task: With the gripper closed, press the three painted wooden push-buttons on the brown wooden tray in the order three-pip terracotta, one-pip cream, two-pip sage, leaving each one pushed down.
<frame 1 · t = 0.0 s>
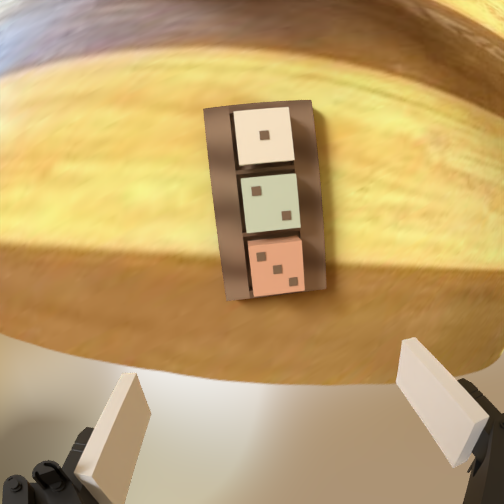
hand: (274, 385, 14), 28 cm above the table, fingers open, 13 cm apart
button one cream: (263, 136, 34), point 4 cm above the table, slide at 0.0 cm
button two sage: (270, 202, 35), point 4 cm above the table, slide at 0.0 cm
button three terracotta: (276, 265, 37), point 4 cm above the table, slide at 0.0 cm
brown wooden tray: (266, 199, 39), on the table
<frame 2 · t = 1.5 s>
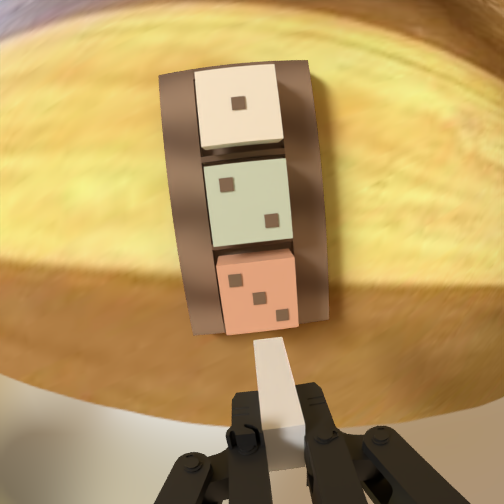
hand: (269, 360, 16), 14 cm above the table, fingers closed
button one cream: (238, 107, 23), point 4 cm above the table, slide at 0.0 cm
button two sage: (248, 201, 24), point 4 cm above the table, slide at 0.0 cm
button three terracotta: (258, 291, 26), point 4 cm above the table, slide at 0.0 cm
brown wooden tray: (247, 197, 28), on the table
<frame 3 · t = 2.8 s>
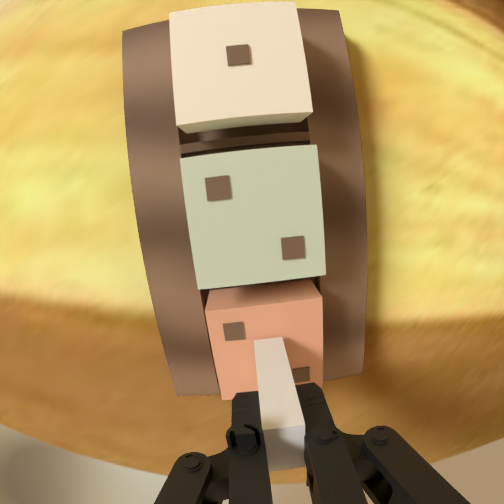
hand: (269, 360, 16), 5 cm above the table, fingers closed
button one cream: (238, 65, 13), point 4 cm above the table, slide at 0.0 cm
button two sage: (254, 213, 15), point 4 cm above the table, slide at 0.0 cm
button three terracotta: (266, 341, 18), point 3 cm above the table, slide at 0.9 cm, touching gripper
brown wooden tray: (250, 205, 19), on the table
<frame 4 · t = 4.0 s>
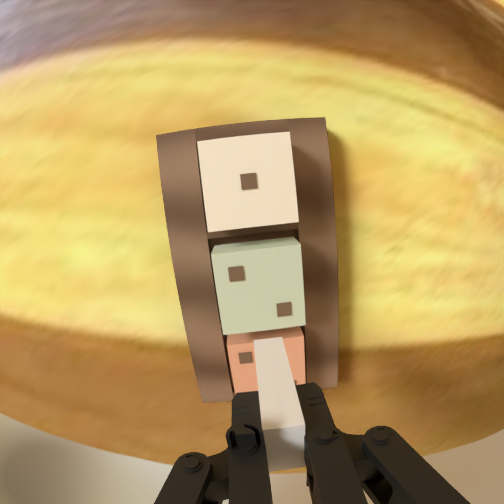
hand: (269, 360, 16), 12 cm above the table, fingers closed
button one cream: (247, 181, 21), point 4 cm above the table, slide at 0.0 cm
button two sage: (259, 285, 23), point 4 cm above the table, slide at 0.0 cm
button three terracotta: (267, 362, 26), point 3 cm above the table, slide at 1.1 cm
brown wooden tray: (256, 269, 27), on the table
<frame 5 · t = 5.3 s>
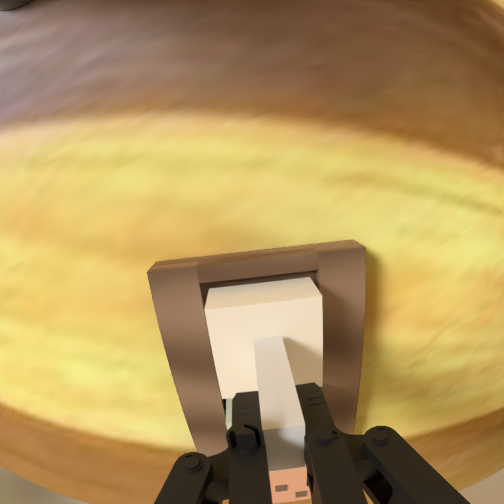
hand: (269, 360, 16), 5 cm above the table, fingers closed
button one cream: (266, 339, 18), point 3 cm above the table, slide at 0.6 cm, touching gripper
button two sage: (275, 432, 19), point 4 cm above the table, slide at 0.0 cm
button three terracotta: (279, 475, 22), point 3 cm above the table, slide at 1.1 cm
brown wooden tray: (270, 397, 23), on the table
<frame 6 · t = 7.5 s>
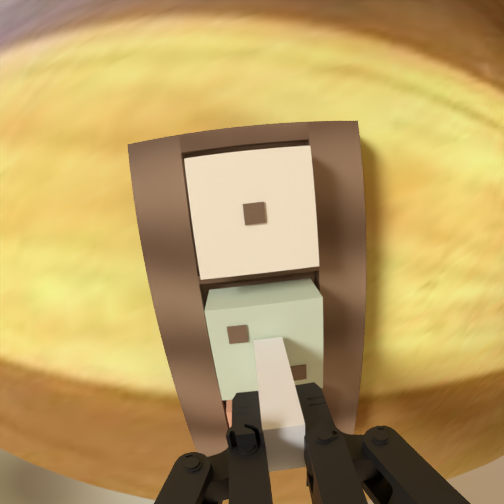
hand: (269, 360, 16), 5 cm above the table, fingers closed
button one cream: (252, 209, 16), point 3 cm above the table, slide at 1.1 cm
button two sage: (266, 341, 18), point 3 cm above the table, slide at 0.6 cm, touching gripper
button three terracotta: (274, 423, 20), point 3 cm above the table, slide at 1.1 cm
brown wooden tray: (262, 315, 21), on the table
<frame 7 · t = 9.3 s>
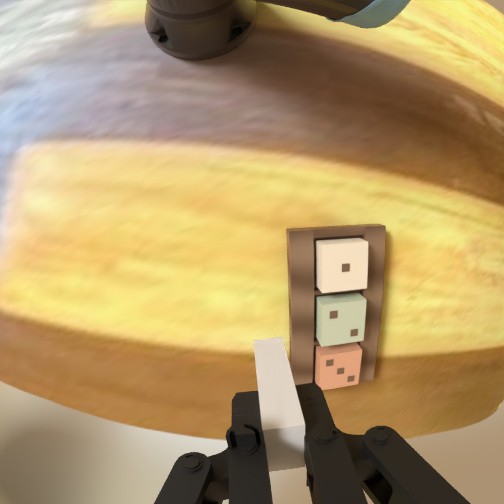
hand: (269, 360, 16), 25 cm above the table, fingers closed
button one cream: (341, 264, 39), point 3 cm above the table, slide at 1.1 cm
button two sage: (340, 319, 40), point 3 cm above the table, slide at 1.0 cm
button three terracotta: (337, 365, 42), point 3 cm above the table, slide at 1.1 cm
brown wooden tray: (334, 310, 43), on the table
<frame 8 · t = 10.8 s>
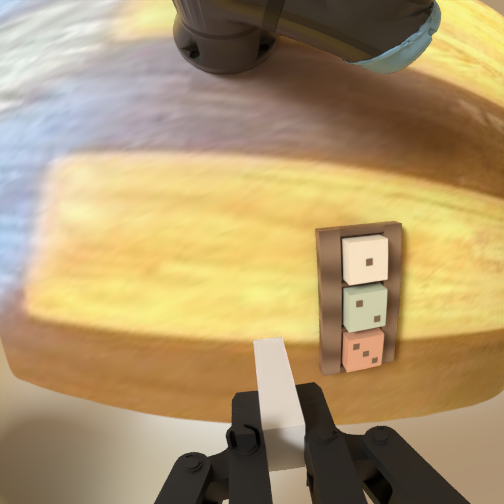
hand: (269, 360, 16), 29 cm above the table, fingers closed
button one cream: (365, 259, 43), point 3 cm above the table, slide at 1.1 cm
button two sage: (364, 307, 45), point 3 cm above the table, slide at 1.0 cm
button three terracotta: (362, 349, 47), point 3 cm above the table, slide at 1.1 cm
brown wooden tray: (358, 299, 48), on the table
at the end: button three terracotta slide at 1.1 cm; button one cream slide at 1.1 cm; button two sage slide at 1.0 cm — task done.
